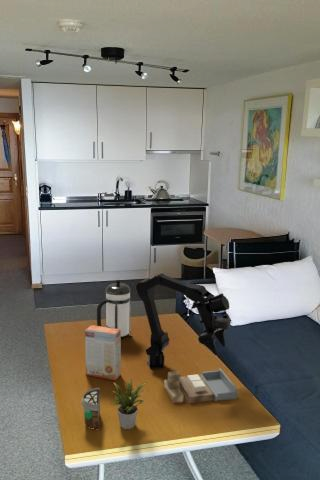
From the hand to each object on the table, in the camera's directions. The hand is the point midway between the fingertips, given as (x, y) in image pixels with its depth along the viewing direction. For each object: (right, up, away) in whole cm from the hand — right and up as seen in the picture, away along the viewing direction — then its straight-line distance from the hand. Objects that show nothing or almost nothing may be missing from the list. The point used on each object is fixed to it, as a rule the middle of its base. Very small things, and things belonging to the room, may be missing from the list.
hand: (220, 350), depth 189 cm
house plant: (-36, -20, -30) cm, 50 cm away
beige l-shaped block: (-20, -16, -7) cm, 26 cm away
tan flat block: (-11, -15, -5) cm, 19 cm away
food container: (-50, -19, -27) cm, 60 cm away
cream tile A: (-10, -13, -8) cm, 18 cm away
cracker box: (-49, -12, +6) cm, 51 cm away
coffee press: (-48, -4, +46) cm, 66 cm away
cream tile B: (-11, -12, -3) cm, 17 cm away
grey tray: (-1, -15, -3) cm, 15 cm away
